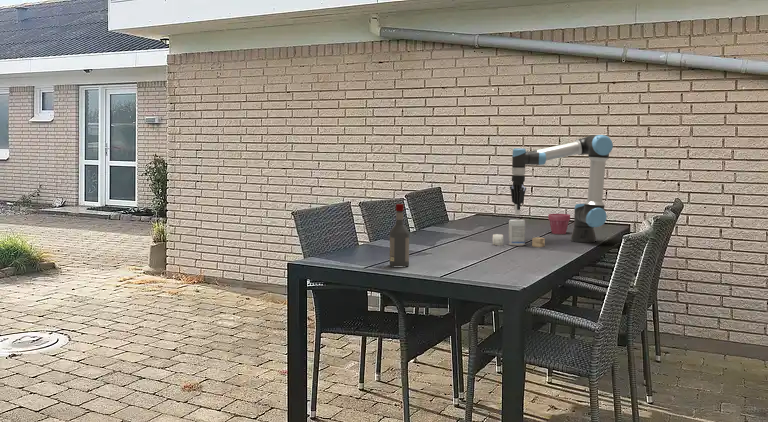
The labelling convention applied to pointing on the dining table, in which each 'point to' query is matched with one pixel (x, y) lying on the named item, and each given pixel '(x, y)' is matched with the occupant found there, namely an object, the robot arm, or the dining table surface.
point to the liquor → (399, 241)
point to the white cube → (498, 239)
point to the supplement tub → (517, 232)
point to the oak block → (538, 242)
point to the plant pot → (559, 223)
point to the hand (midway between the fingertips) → (517, 215)
